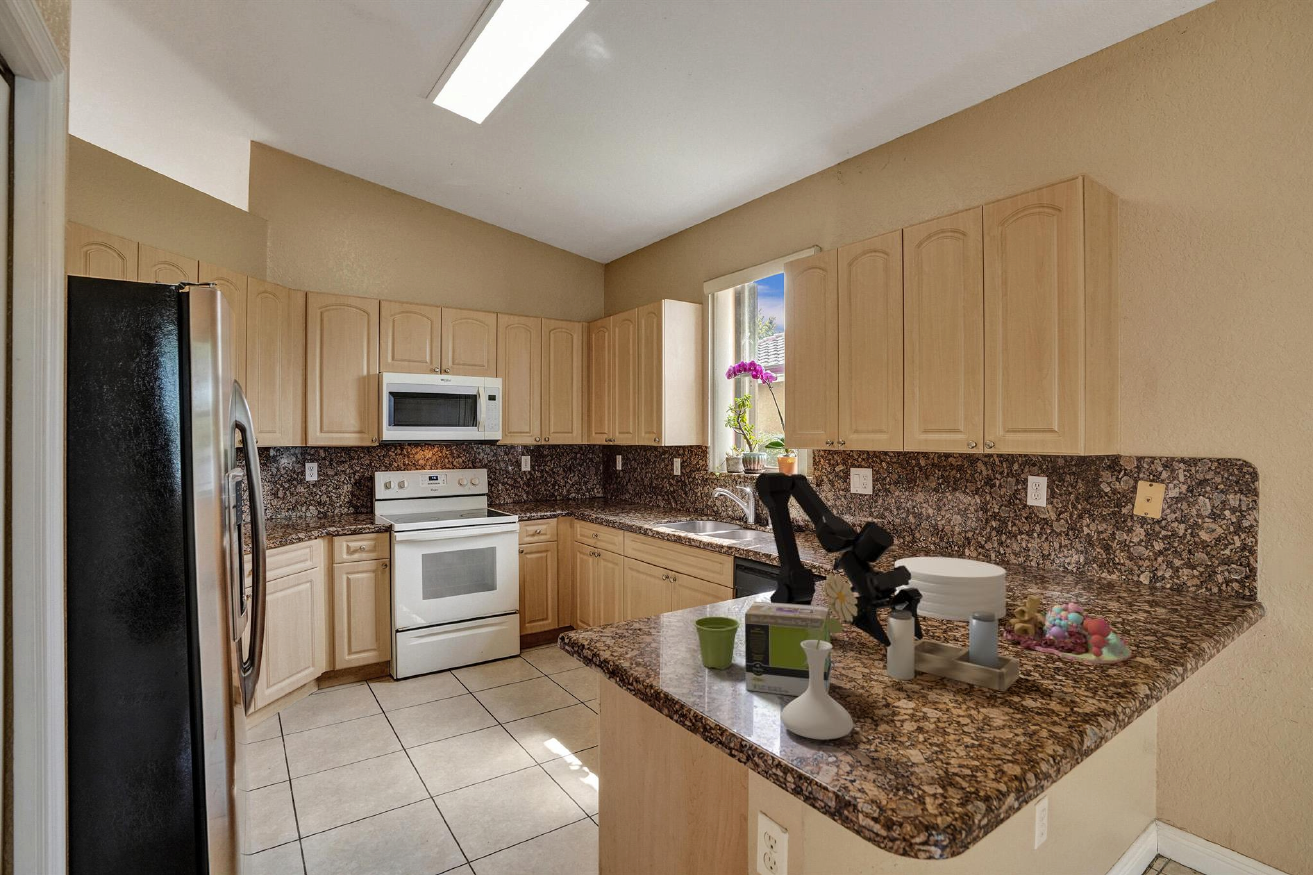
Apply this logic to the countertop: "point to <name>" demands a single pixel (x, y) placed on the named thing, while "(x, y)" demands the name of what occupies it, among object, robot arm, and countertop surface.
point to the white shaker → (900, 644)
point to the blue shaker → (983, 639)
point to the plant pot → (716, 640)
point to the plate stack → (956, 587)
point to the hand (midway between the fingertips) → (905, 642)
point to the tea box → (782, 647)
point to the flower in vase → (822, 674)
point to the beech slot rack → (963, 665)
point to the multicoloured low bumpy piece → (1066, 633)
